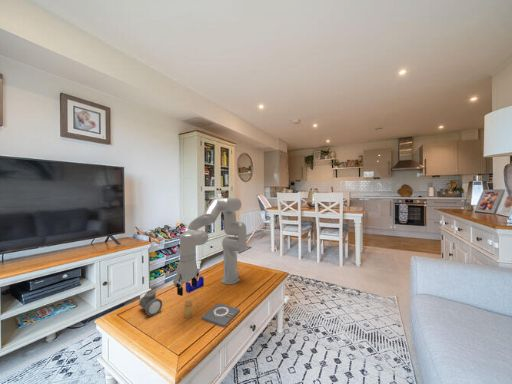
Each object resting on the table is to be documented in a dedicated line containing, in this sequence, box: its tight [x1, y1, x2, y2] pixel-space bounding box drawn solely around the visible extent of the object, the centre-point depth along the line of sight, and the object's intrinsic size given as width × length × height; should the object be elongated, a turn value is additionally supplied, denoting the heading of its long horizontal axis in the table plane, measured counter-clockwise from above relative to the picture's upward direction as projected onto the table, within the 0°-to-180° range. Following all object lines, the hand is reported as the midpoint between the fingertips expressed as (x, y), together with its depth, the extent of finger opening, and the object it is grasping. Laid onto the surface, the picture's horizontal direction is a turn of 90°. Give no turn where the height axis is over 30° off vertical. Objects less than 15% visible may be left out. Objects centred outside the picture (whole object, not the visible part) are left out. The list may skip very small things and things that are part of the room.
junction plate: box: [201, 302, 240, 328], centre depth 104 cm, size 14×14×2 cm
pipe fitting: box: [138, 290, 163, 317], centre depth 108 cm, size 12×8×10 cm
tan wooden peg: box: [183, 299, 193, 320], centre depth 104 cm, size 4×4×8 cm
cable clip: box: [185, 275, 205, 294], centre depth 133 cm, size 12×4×6 cm, turn 144°
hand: (187, 290), depth 103 cm, fingers open, 9 cm apart
